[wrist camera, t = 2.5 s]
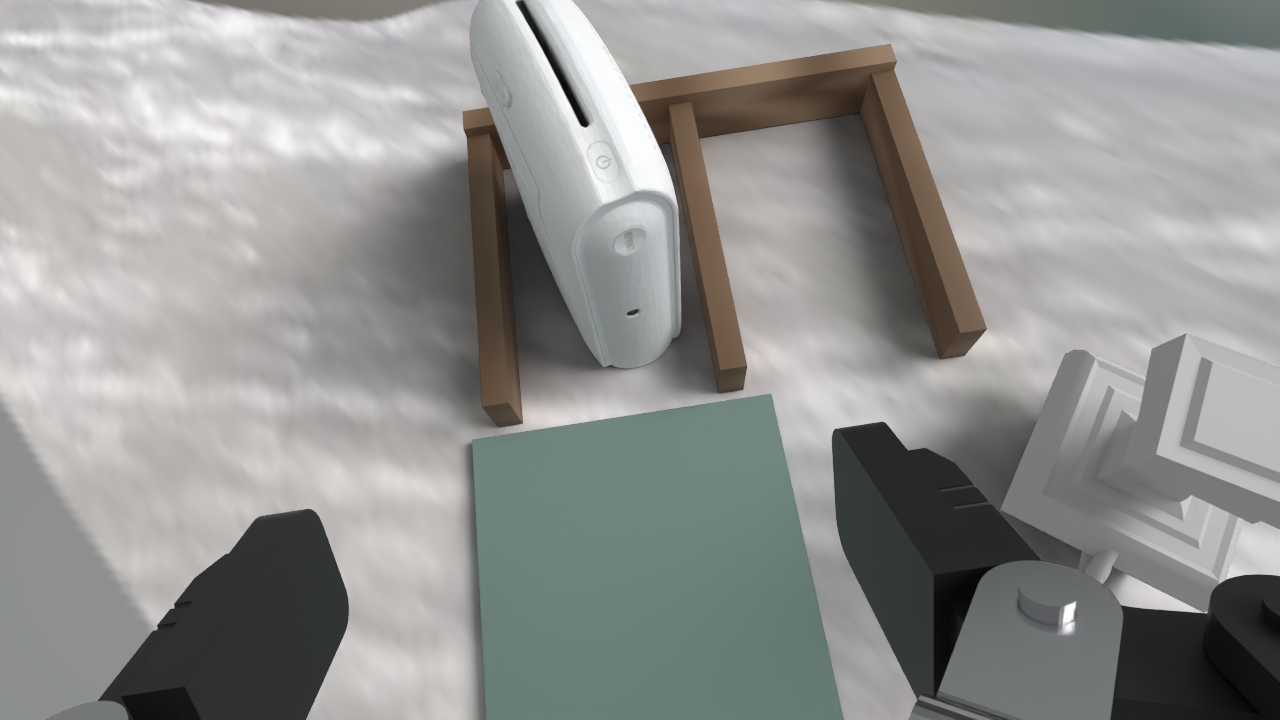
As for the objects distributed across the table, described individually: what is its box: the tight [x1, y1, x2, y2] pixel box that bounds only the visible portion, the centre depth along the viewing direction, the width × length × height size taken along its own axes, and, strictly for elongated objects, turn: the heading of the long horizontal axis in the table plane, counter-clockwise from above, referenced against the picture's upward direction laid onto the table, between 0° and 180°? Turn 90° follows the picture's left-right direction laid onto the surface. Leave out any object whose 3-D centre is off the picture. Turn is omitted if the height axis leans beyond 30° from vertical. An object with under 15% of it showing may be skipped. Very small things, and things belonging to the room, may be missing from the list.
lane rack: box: [463, 44, 987, 427], centre depth 31 cm, size 19×14×3 cm
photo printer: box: [470, 0, 681, 368], centre depth 27 cm, size 10×4×12 cm, turn 24°
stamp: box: [1000, 333, 1280, 612], centre depth 24 cm, size 9×7×8 cm
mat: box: [472, 394, 844, 720], centre depth 27 cm, size 12×12×1 cm
